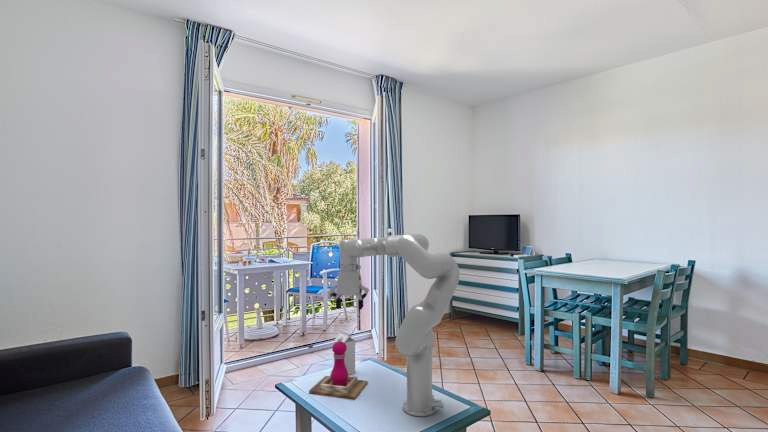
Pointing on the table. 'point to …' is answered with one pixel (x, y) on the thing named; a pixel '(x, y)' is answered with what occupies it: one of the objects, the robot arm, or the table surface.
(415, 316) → the robot arm
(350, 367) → the milk carton
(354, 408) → the table surface
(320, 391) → the stand
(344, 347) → the pepper mill
